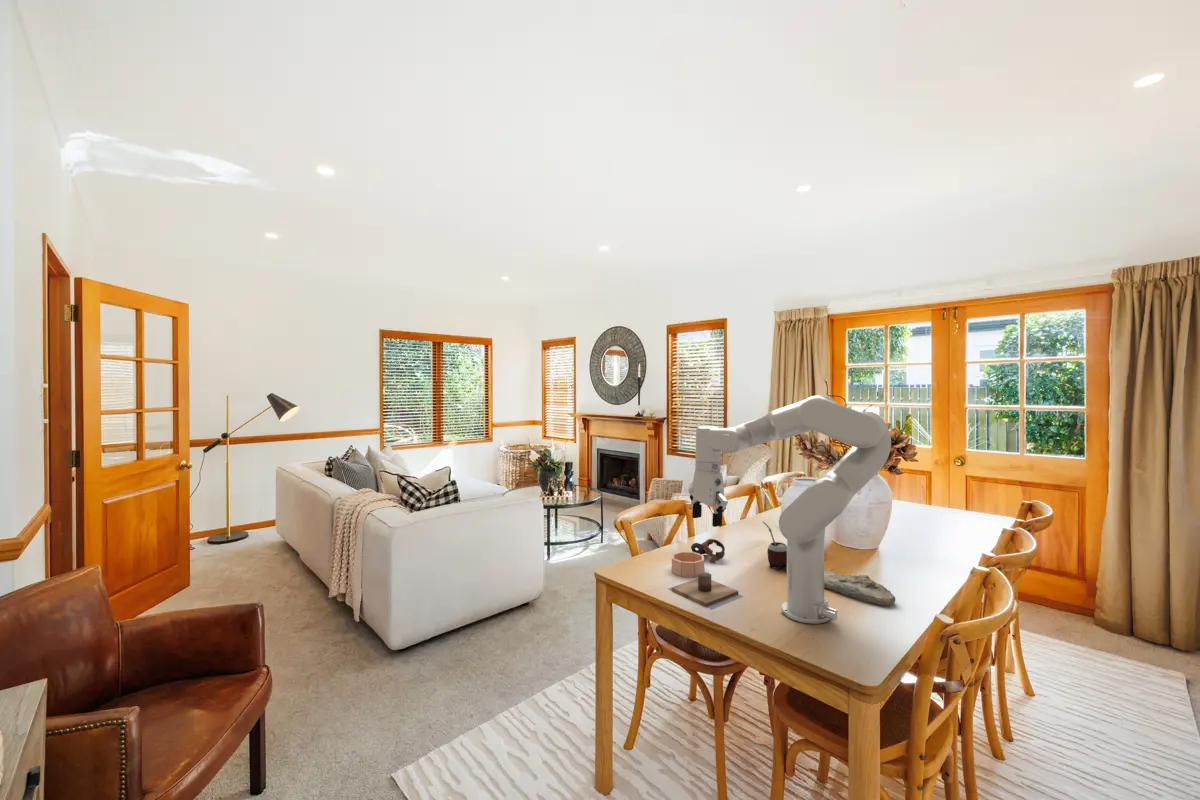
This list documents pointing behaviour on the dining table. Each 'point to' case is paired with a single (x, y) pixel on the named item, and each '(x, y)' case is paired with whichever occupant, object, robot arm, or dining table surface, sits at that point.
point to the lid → (705, 590)
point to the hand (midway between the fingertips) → (706, 521)
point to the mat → (720, 601)
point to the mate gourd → (777, 553)
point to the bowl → (687, 564)
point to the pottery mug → (705, 549)
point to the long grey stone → (858, 588)
